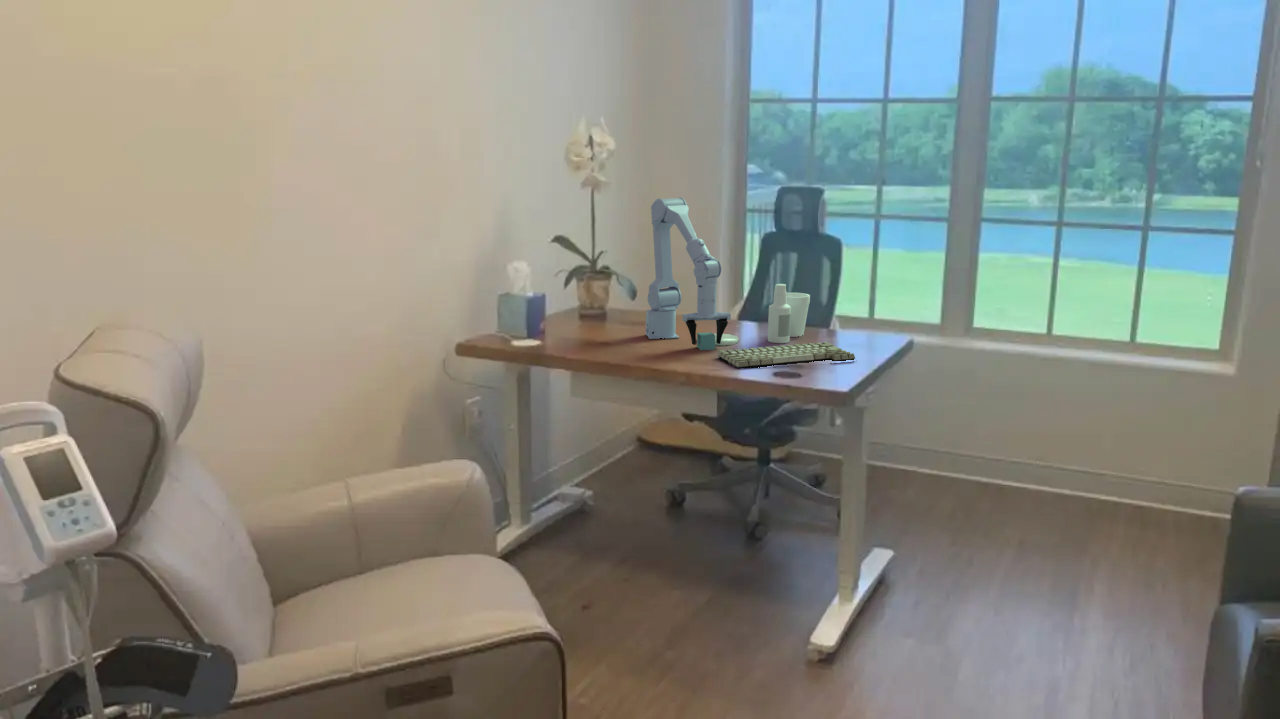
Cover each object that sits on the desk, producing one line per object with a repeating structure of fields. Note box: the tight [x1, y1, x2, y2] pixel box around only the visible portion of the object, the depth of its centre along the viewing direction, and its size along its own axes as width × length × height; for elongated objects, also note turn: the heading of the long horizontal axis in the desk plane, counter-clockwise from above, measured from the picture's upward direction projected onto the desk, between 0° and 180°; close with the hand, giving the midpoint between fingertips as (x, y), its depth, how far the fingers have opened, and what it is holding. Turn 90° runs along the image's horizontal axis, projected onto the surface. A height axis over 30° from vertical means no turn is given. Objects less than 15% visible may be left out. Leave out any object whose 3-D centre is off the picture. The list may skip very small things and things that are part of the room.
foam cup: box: [786, 292, 811, 338], centre depth 327 cm, size 10×9×13 cm
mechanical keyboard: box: [716, 341, 856, 369], centre depth 294 cm, size 38×19×3 cm, turn 110°
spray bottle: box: [767, 283, 791, 344], centre depth 317 cm, size 7×7×18 cm
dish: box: [712, 332, 739, 347], centre depth 318 cm, size 13×13×1 cm
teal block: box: [696, 331, 716, 351], centre depth 308 cm, size 4×4×4 cm
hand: (706, 343), depth 308 cm, fingers open, 7 cm apart
